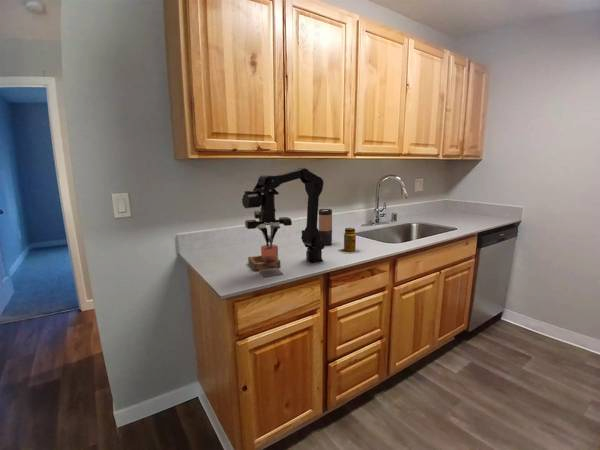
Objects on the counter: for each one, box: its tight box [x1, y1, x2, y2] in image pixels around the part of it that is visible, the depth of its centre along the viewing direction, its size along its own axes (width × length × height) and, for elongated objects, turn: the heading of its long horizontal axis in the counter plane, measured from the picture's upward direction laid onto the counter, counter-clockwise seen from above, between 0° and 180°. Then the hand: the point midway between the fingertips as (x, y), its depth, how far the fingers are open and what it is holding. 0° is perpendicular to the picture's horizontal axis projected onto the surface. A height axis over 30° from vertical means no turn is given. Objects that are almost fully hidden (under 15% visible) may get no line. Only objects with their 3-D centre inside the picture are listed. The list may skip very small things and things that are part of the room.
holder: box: [247, 255, 282, 272], centre depth 143 cm, size 12×12×3 cm
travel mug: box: [318, 208, 333, 247], centre depth 176 cm, size 8×8×20 cm
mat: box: [258, 268, 284, 278], centre depth 133 cm, size 8×8×1 cm
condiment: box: [338, 227, 359, 254], centre depth 163 cm, size 7×8×12 cm
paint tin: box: [260, 234, 279, 263], centre depth 132 cm, size 7×7×10 cm
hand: (269, 242), depth 131 cm, fingers closed on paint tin
